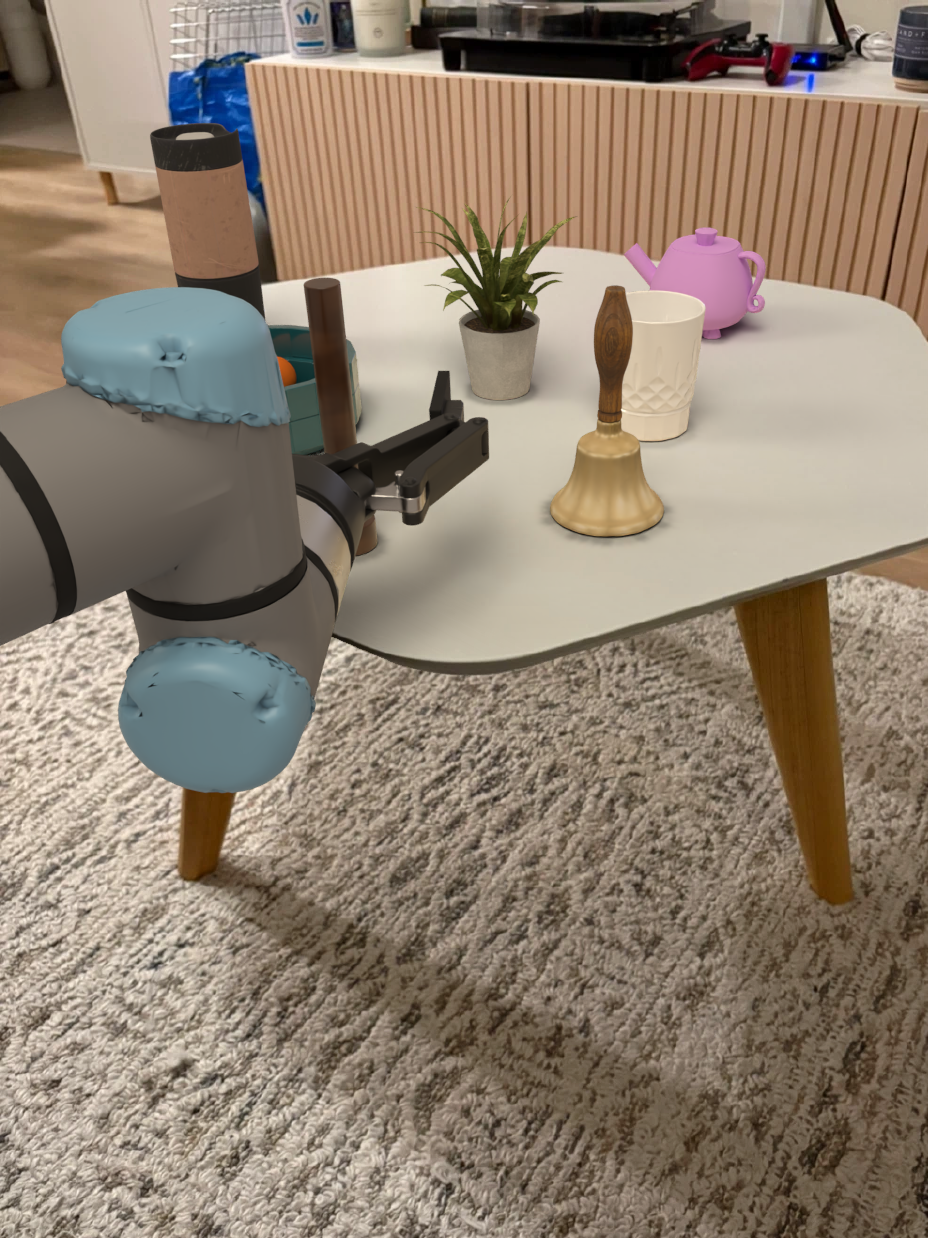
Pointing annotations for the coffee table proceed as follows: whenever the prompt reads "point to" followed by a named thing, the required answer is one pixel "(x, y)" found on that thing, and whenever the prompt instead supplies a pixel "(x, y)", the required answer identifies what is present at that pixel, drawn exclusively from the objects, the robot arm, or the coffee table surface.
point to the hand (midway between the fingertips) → (344, 389)
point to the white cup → (661, 363)
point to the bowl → (307, 387)
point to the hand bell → (609, 444)
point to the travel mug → (207, 209)
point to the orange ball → (287, 372)
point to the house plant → (498, 310)
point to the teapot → (706, 276)
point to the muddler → (333, 377)
